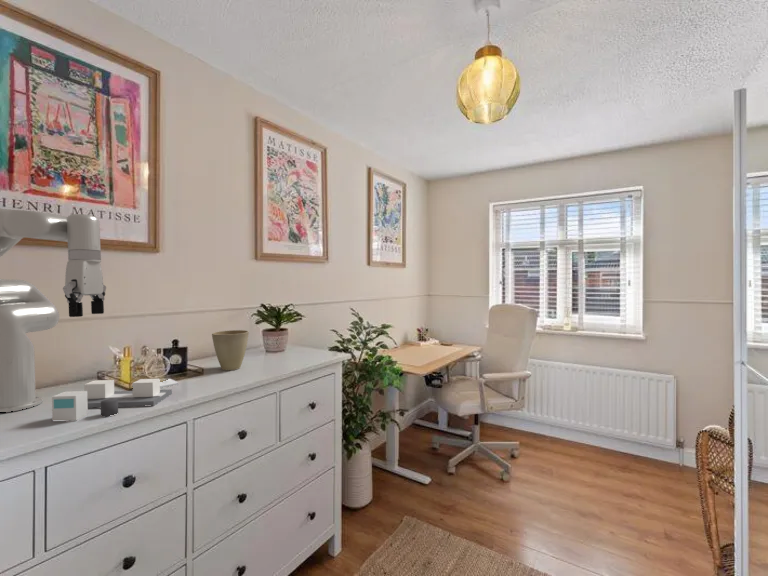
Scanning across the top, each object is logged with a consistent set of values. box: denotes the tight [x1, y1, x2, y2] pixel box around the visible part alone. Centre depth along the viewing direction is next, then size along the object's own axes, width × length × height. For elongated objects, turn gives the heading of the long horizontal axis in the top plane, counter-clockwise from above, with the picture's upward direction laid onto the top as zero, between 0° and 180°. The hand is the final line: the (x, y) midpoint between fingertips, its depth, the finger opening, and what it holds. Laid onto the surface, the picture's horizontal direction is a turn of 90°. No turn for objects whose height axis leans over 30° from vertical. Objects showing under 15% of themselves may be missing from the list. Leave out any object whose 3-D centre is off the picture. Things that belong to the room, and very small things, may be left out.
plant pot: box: [211, 329, 250, 371], centre depth 160 cm, size 15×15×16 cm
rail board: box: [83, 378, 173, 409], centre depth 117 cm, size 24×12×6 cm, turn 96°
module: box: [51, 390, 89, 421], centre depth 102 cm, size 6×5×7 cm
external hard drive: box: [160, 378, 179, 389], centre depth 133 cm, size 2×8×12 cm
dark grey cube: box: [100, 399, 119, 417], centre depth 105 cm, size 4×4×4 cm
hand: (87, 315), depth 108 cm, fingers open, 9 cm apart
